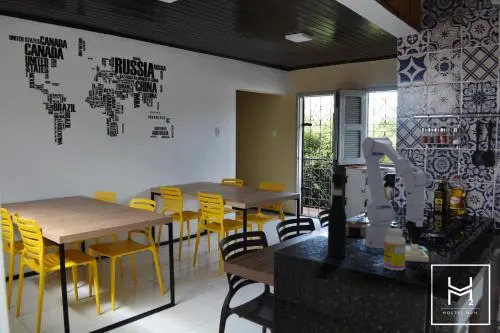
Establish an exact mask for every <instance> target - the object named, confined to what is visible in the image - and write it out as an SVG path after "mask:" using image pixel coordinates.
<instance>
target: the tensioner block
mask: <svg viewBox="0 0 500 333" xmlns="http://www.w3.org/2000/svg"><path fill="white" fill-rule="evenodd" d="M410 248H411V245H406V247H405V250H410ZM418 251H423V252H424V253H425V254H426V255H427V256H428V255H429V254H428V253H429V252H428V251H429V250H428V249H427V248H426V247H425V246H424V245H423V246H421V245H418Z"/></svg>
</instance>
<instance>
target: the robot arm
mask: <svg viewBox="0 0 500 333" xmlns="http://www.w3.org/2000/svg"><path fill="white" fill-rule="evenodd" d="M362 141H363V142H362V143H361V149H362V154H363V158H364V163H365V170H366V174H367V180H368V185H369V191H370V196H371V201H370V203H369V204H367V206H366V208H367V212H366V218H367V221H368V222H370V224H366V237H364V238H365V240H364V241H365V242H364V243H365V245H366V247H367V248H370V249H371V248H372V249H373V248H375V249H384V239H385V237H386V236H388V233H387V231H388V229H389V228H391V226H392V225H393V223H394V222H395V220H396V212H395V209H394V208H393V204H392V203H391V202H390V201H389V200H388V199H387V198H386V192H385V188H384V187H385V186H384V182H383V176H382V172H381V165H380V161H381V159H383V158H384V157H387V159H389V161H391V162H392V163H393V168H394V170H395V171H396V173H398V175H400V176H401V178H402V183H403V185H404V187H405V188H404V190H405V192H406V202H405V203H406V204H405V205H406V206H405V207H406V209H405V220H406V221H404V225H405V227H406V229H407V234H408V241H409V242H410V243H411V242H412V244H418V245H419V244H420V241H421V237H422V234H423V232H424V230H425V228H426V225H425V224H424V221H427V220H428V217H426V216H424V215H425V214H424V210H425V208H424V207H425V187H426V186H427V185H428V183H429V177H428V174H427V172H426V171H425V170H420V169H418V168H417V167H416V166H415V165H414V164H413V163H412V162H411V159H409V157H402V156H401V155H400V153H399V152H398V151H397V149H396V148H395V147H394V146H393V141H392V140H391V139H390V138H389V137H388V136H367V137H365V138H364V140H362Z"/></svg>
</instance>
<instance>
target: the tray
mask: <svg viewBox="0 0 500 333" xmlns="http://www.w3.org/2000/svg"><path fill="white" fill-rule="evenodd" d="M429 259H430V258H429V256H428V255H426V254H425V253H424V252H423V251H412V250H405V262H417V263H418V262H419V263H421V262H422V263H429V261H430V260H429Z"/></svg>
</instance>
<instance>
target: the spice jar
mask: <svg viewBox="0 0 500 333" xmlns="http://www.w3.org/2000/svg"><path fill="white" fill-rule="evenodd" d="M410 246H411V248H410V250H412V251H418V246H419V244H412V242H410Z"/></svg>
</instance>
